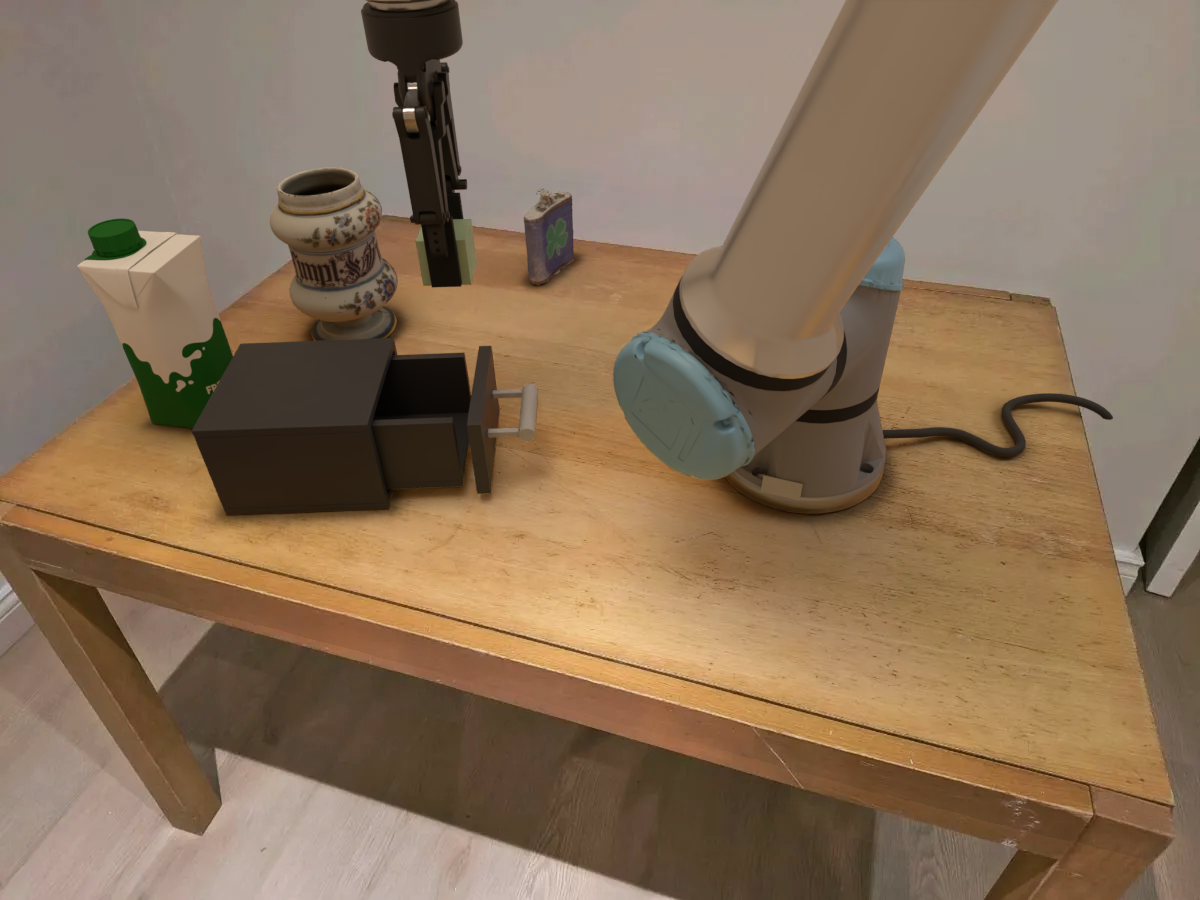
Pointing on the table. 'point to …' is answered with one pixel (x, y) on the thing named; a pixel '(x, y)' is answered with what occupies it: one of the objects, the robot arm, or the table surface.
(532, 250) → the flask
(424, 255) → the block
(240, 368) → the cabinet
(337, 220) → the apothecary jar
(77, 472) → the table surface
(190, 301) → the milk carton
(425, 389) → the drawer
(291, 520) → the table surface
